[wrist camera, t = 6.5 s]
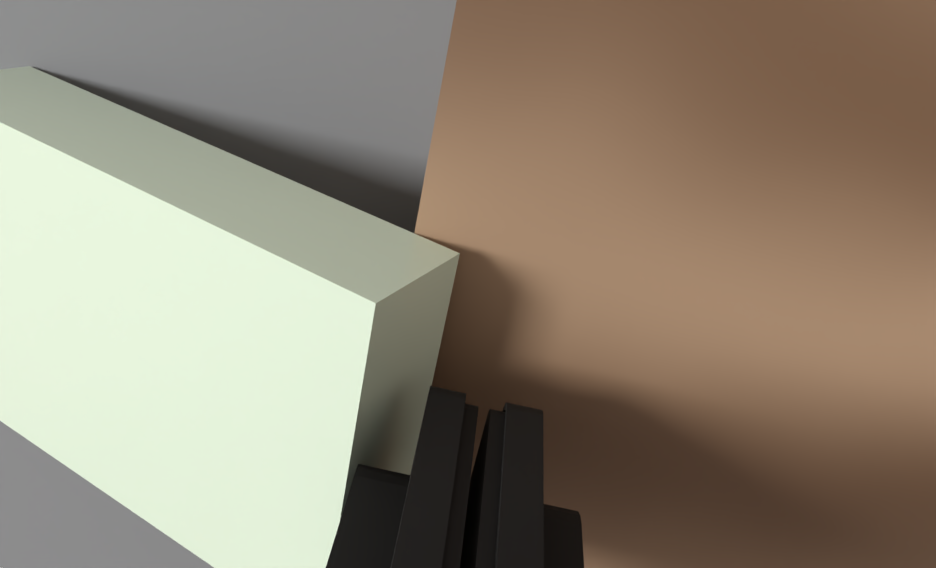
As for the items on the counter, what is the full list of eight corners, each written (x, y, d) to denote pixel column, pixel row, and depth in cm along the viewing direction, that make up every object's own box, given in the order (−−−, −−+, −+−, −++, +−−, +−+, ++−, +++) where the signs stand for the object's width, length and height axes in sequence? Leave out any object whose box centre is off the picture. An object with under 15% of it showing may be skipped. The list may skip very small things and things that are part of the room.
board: (815, 690, 21) (871, 859, 17) (358, 596, 21) (320, 747, 17) (1273, -46, 13) (1560, -10, 9) (513, -217, 12) (501, -249, 9)
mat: (346, 621, 21) (342, 637, 21) (-150, 519, 21) (-165, 534, 20) (515, -299, 12) (514, -305, 11) (-374, -501, 12) (-409, -515, 11)
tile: (394, 561, 14) (320, 640, 12) (45, 346, 17) (-49, 387, 16) (460, 253, 11) (375, 303, 10) (30, 66, 14) (-88, 79, 13)
